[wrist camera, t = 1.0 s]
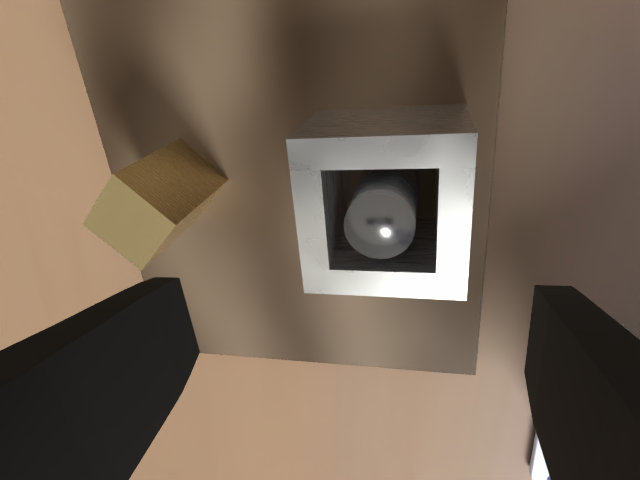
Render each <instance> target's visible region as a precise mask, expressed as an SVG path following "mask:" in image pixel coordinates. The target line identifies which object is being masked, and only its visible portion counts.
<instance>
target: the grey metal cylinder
mask: <svg viewBox="0 0 640 480" xmlns="http://www.w3.org/2000/svg"><path fill="white" fill-rule="evenodd" d="M417 193H418V170H417V169H373V170H363V173H362V175H361V178H360V180H359V183H358V185H357V188H356V190H355V193H354V195H353V198H352V200H351V203H350V205H349V207H348V210H347V212H346V215H345V218H344V232H345V236H346V238H347V240H348V242H349V243H350V245H351V246H352V247H353V248H354V249H355V250H356V251H358V252H359V253H361V254H362V255H365V256H367V257H370V258H375V259H387V258H391V257H394V256H397V255H399V254H401V253H402V252H403V251H405V250H406V249H407V248H408V247H409V245H410V244H411V242H412V240H413V238H414V234H415V225H416V209H417Z"/></svg>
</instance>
